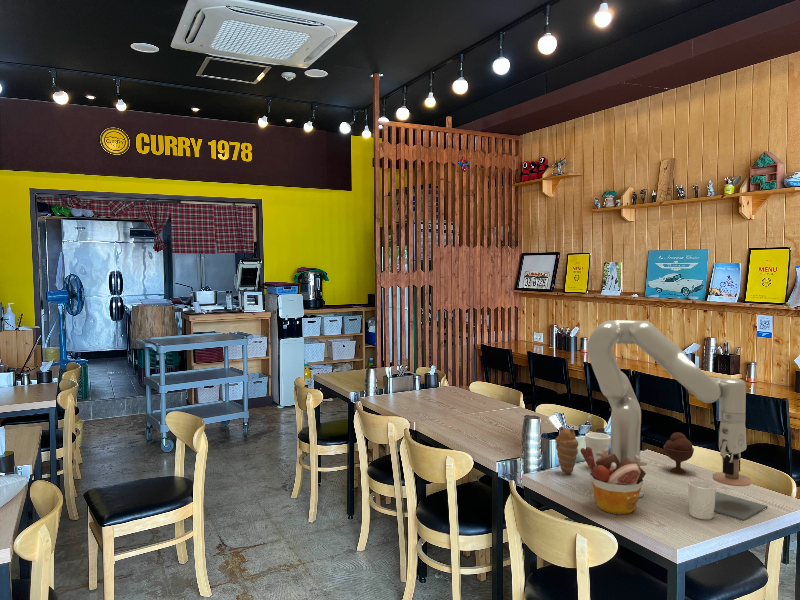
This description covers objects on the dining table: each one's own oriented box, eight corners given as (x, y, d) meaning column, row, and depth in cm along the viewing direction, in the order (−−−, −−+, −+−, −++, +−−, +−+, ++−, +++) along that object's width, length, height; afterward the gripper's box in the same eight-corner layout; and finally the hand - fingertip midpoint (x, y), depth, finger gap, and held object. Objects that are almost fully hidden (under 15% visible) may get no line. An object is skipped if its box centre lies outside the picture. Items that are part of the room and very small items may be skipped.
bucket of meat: (637, 500, 199) (638, 441, 198) (653, 519, 182) (655, 456, 182) (576, 497, 201) (577, 439, 200) (587, 516, 184) (588, 453, 184)
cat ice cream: (551, 473, 226) (552, 426, 225) (562, 469, 231) (563, 423, 230) (571, 479, 219) (572, 431, 219) (583, 474, 225) (583, 427, 224)
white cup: (685, 516, 185) (686, 485, 185) (689, 508, 192) (690, 478, 191) (713, 522, 181) (714, 490, 180) (716, 514, 187) (717, 483, 187)
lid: (742, 488, 185) (743, 466, 185) (706, 479, 194) (706, 458, 194) (756, 481, 192) (757, 460, 192) (721, 472, 201) (721, 452, 201)
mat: (743, 521, 182) (743, 519, 182) (691, 505, 195) (691, 503, 194) (767, 507, 193) (767, 505, 193) (717, 493, 205) (717, 491, 205)
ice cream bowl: (656, 469, 231) (657, 431, 231) (676, 465, 236) (677, 428, 235) (679, 477, 221) (680, 438, 221) (700, 473, 226) (701, 435, 226)
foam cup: (602, 474, 225) (602, 440, 225) (580, 468, 232) (580, 435, 232) (614, 468, 232) (614, 436, 231) (592, 463, 239) (593, 431, 238)
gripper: (732, 422, 185) (731, 480, 185) (755, 415, 195) (754, 470, 195) (708, 418, 190) (707, 474, 191) (731, 411, 201) (730, 464, 201)
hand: (731, 471), depth 193 cm, fingers closed on lid, 4 cm apart
